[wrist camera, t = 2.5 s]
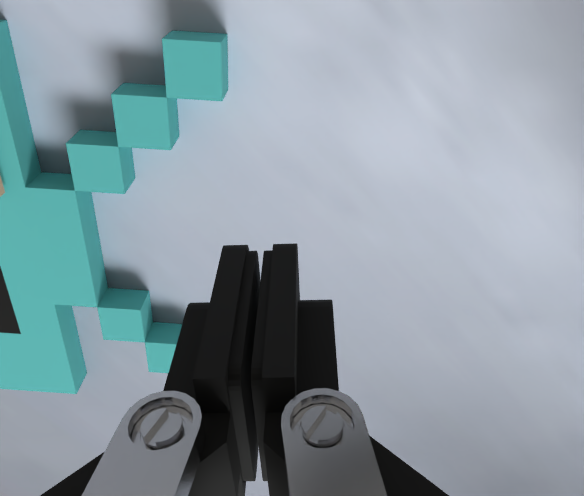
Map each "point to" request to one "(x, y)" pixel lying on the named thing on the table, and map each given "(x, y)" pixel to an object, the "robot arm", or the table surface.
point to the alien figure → (83, 218)
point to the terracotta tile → (1, 188)
